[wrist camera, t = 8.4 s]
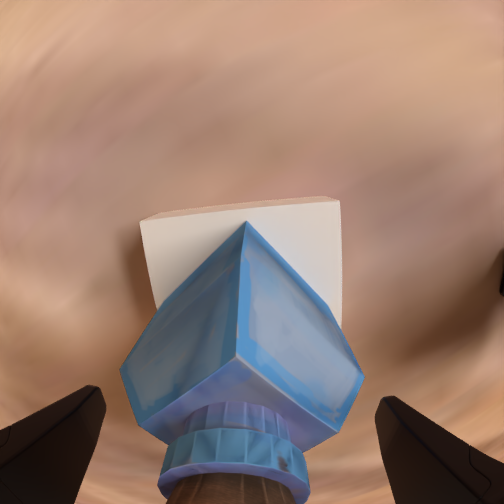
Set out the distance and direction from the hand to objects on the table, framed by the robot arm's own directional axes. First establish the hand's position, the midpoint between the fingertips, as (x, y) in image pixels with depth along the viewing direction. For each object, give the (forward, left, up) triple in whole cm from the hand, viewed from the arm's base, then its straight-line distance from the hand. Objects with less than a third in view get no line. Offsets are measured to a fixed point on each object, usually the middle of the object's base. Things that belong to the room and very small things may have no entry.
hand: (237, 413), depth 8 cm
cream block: (0, 0, -12) cm, 12 cm away
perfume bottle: (0, 0, -8) cm, 8 cm away
